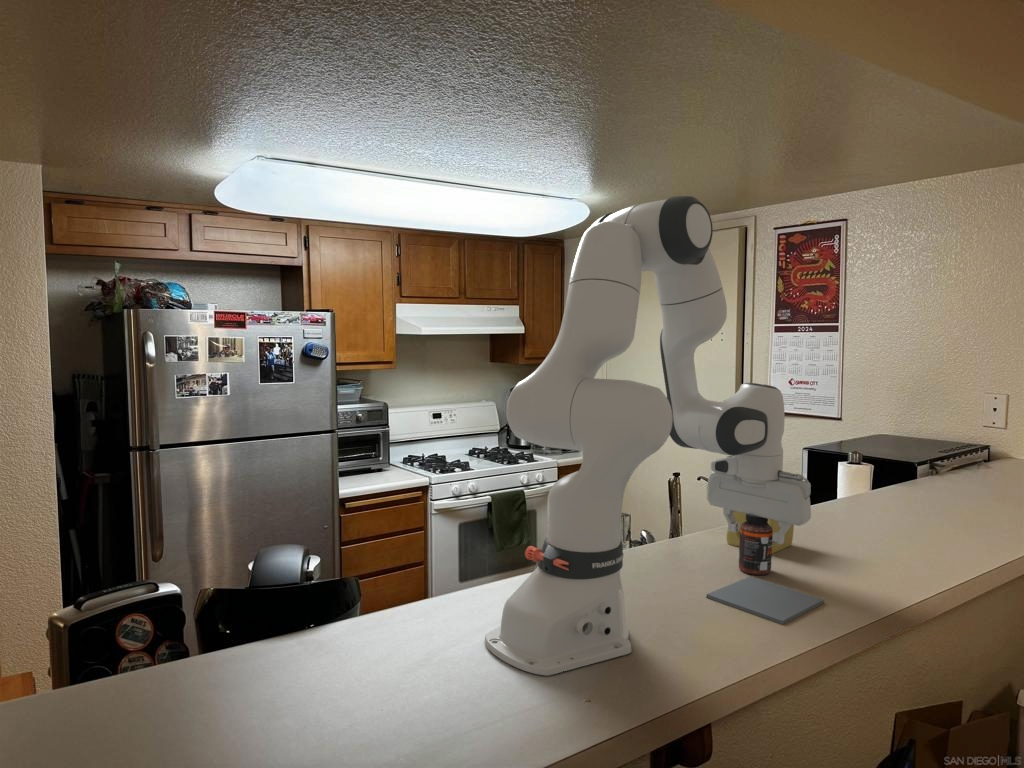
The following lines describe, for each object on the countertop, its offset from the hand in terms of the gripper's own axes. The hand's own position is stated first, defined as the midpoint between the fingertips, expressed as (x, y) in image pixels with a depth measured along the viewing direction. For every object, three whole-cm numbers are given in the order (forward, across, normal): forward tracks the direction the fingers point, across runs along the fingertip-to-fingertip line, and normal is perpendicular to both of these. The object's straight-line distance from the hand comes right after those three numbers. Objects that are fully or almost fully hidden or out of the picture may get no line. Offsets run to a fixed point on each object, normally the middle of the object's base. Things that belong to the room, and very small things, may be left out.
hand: (755, 537), depth 133 cm
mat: (+6, -9, +13) cm, 17 cm away
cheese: (+7, +8, -16) cm, 19 cm away
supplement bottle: (+7, 0, 0) cm, 7 cm away
